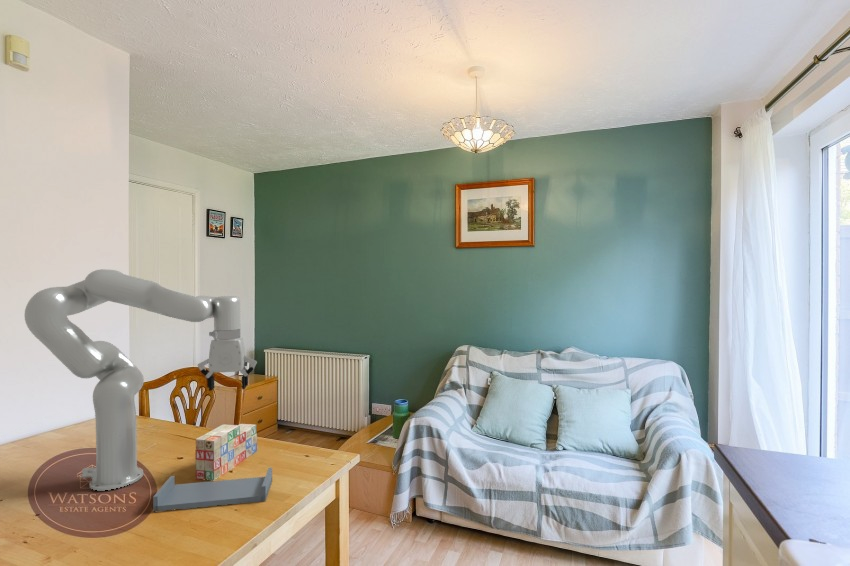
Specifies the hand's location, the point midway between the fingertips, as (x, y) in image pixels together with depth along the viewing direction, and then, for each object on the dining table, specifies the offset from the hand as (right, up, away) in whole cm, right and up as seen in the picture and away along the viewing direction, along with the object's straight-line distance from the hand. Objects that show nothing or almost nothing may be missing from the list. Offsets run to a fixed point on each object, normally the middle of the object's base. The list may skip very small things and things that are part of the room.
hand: (228, 388), depth 131 cm
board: (+6, -25, -18) cm, 31 cm away
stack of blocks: (0, -25, +1) cm, 25 cm away
